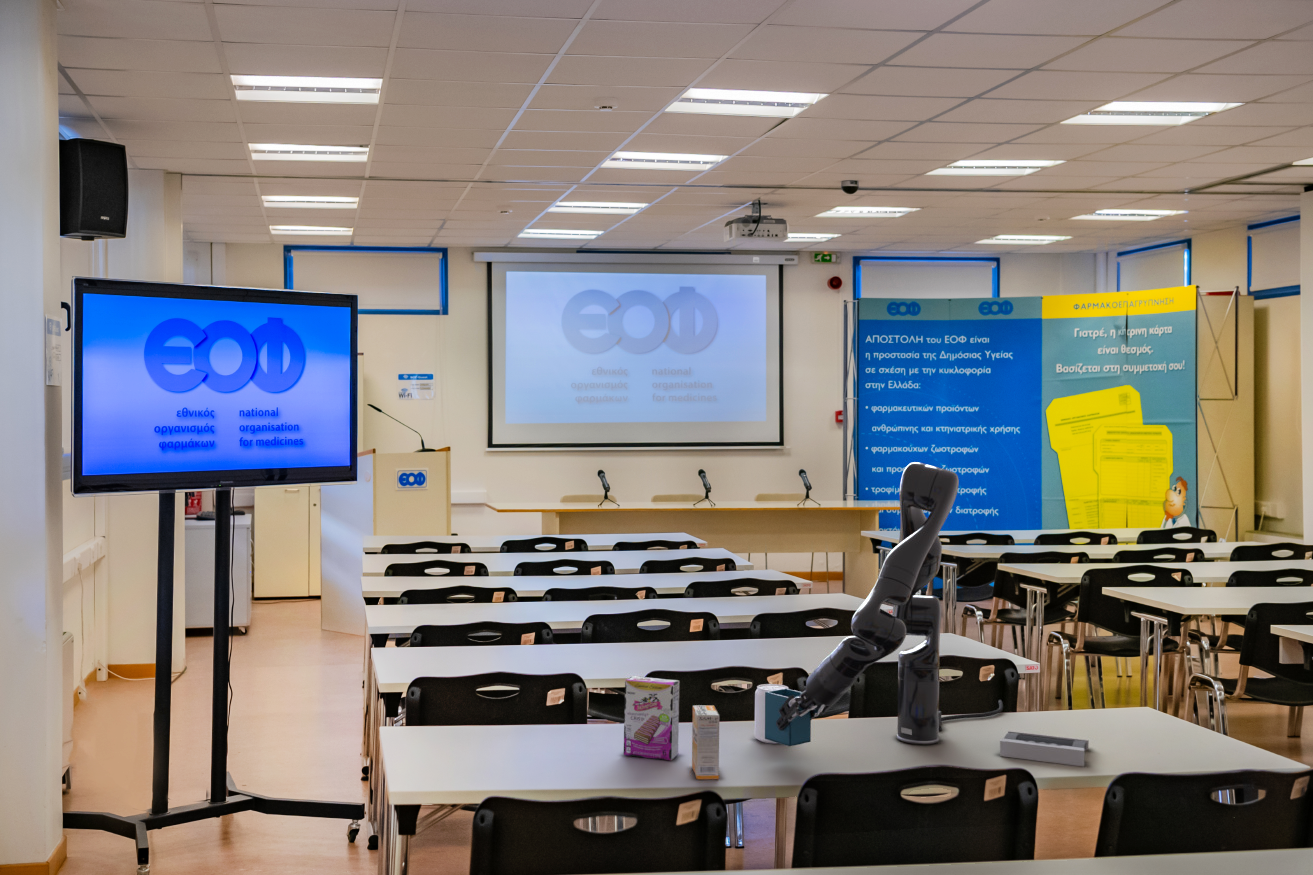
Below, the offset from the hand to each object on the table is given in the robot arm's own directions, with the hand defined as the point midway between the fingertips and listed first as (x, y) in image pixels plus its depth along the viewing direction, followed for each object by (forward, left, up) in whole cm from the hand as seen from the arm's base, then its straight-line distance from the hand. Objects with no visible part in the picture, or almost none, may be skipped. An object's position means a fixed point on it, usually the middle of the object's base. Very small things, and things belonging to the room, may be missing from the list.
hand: (790, 724), depth 232 cm
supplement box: (+16, -12, -9) cm, 22 cm away
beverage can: (-16, -12, -9) cm, 21 cm away
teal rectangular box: (-2, -4, +1) cm, 5 cm away
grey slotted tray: (-41, +43, -9) cm, 60 cm away
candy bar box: (+11, -28, -9) cm, 31 cm away
